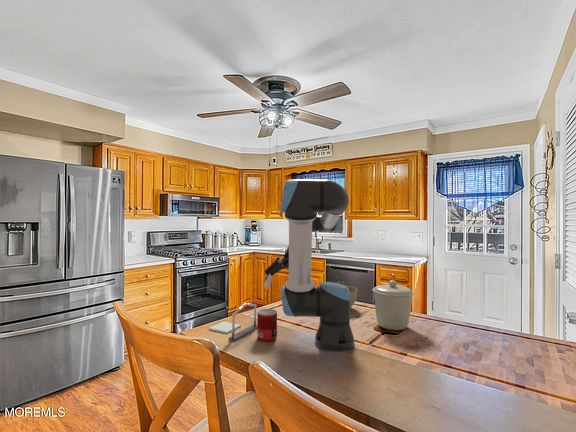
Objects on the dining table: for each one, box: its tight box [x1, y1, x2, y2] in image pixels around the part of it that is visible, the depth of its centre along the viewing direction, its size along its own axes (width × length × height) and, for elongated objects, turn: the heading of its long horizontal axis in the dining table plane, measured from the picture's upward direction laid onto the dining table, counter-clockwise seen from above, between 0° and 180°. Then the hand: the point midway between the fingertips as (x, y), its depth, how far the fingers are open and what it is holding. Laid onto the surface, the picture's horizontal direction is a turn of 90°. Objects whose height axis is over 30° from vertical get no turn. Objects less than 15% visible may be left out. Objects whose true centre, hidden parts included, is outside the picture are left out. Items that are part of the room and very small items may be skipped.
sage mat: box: [208, 321, 242, 334], centre depth 143 cm, size 10×10×1 cm
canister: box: [371, 279, 415, 331], centre depth 147 cm, size 18×18×21 cm
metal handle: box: [228, 302, 258, 343], centre depth 137 cm, size 3×18×13 cm, turn 153°
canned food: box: [256, 308, 278, 343], centre depth 132 cm, size 8×8×11 cm
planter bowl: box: [345, 285, 358, 311], centre depth 175 cm, size 16×16×11 cm
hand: (278, 289), depth 141 cm, fingers open, 13 cm apart
